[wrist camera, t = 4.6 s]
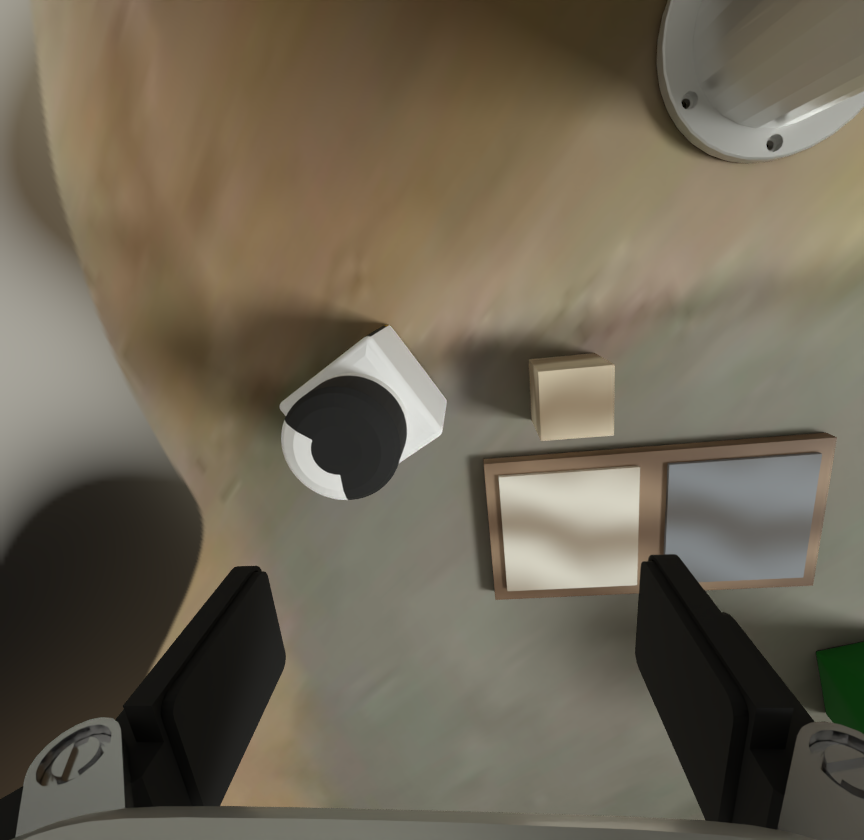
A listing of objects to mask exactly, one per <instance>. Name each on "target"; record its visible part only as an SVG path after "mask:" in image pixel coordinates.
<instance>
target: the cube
mask: <svg viewBox="0 0 864 840" xmlns="http://www.w3.org/2000/svg"><path fill="white" fill-rule="evenodd" d="M614 374H615V365H614V364H612V363H611V362H609V361H607V360H606V359H604V358H602V357H600V356H599V355H597V354H595V353H590V354H579V355H569V356H558V357H548V358H537V359H529V377H530V399H531V420H532V422H533V424H534V427H535V429H536V431H537V433H538V435H539V437H540V440H541V441H548V440H561V439H573V438H586V437H599V436H612V435H614Z"/></svg>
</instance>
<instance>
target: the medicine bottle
mask: <svg viewBox="0 0 864 840" xmlns="http://www.w3.org/2000/svg"><path fill="white" fill-rule="evenodd" d="M446 404H447V400H446V398H445V397H444V396H443V394H442V393H441V392H440V390H439V389H438V388H437V386H436V385H435V384H434V382H433V381H432V380H431V379H430V377H429V376H428V375H427V373H426V372H425V371H424V369H423V368H422V367H421V365H420V364H419V363H418V361H417V360H416V359H415V357H414V356H413V355H412V353H411V352H410V351H409V349H408V348H407V347H406V345H405V344H404V343H403V341H402V340H401V339H400V337H399V336H398V335H397V333H396V332H395V331H394V329H393V328H392V327H391V326H390V325H384V326H382V327H381V328H379V329H377V330H376V331H374V332H372V333H371V334H369V335H367V336H365V337H364V338H363V339H361V340H360V341H359V342H357V343H356V344H355V345H354V346H352V347H351V348H350V349H348V350H347V351H346V352H345V353H343V354H342V355H341V356H340V357H338V358H337V359H336V360H334V361H333V362H332V363H331V364H329V365H328V366H327V367H326V368H324V369H323V370H322V371H320V372H319V373H318V374H317V375H315V376H314V377H313V378H311V379H310V380H309V381H308V382H306V383H305V384H304V385H303V386H301V387H300V388H299V389H297V390H296V391H295V392H294V393H292V394H291V395H290V396H289V397H287V398H286V399H285V400H283V401H282V402H281V404H280V410H281V411H282V412H283V413H284V415H285V416H286V418H285V420H284V423H283V426H282V433H281V444H282V450H283V453H284V457H285V459H286V462H287V464H288V466H289V467H290V469H291V471H292V472H293V473H294V475H295V476H296V477H297V478H298V479H299V480H300V481H301V482H302V483H303V484H304V485H305V486H307V487H308V488H309V489H311V490H313V491H314V492H316V493H318V494H321V495H323V496H326V497H329V498H333V499H339V500H353V499H359V498H363V497H366V496H369V495H371V494H373V493H375V492H377V491H378V490H380V489H381V488H382V487H383V486H385V485H386V484H387V482H388V481H389V480H390V479H391V477H392V476H393V475H394V473H395V471H396V469H397V466H398V464H399V463H400V462H402V461H403V460H404V459H406V458H407V457H409V456H410V455H412V454H413V453H415V452H416V451H418V450H419V449H421V448H422V447H424V446H425V445H427V444H428V443H430V442H431V441H432V440H434V439H435V438H437V437H438V436H440V435H441V434H442V429H443V423H444V417H445V410H446Z"/></svg>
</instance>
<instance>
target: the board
mask: <svg viewBox="0 0 864 840" xmlns="http://www.w3.org/2000/svg"><path fill="white" fill-rule="evenodd" d="M836 440H837V437H835V436H832V435H830V434H828V433H814V434H801V435H788V436H775V437H763V438H750V439H737V440H724V441H711V442H698V443H685V444H672V445H659V446H646V447H633V448H620V449H607V450H595V451H582V452H569V453H556V454H543V455H530V456H517V457H504V458H491V459H483V461H484V473H485V484H486V496H487V507H488V519H489V531H490V542H491V554H492V565H493V577H494V588H495V599H496V600H500V599H522V598H544V597H567V596H589V595H611V594H633V593H639V585H640V569H641V563H642V562H643V561H648V558H649V556H650V555H664V554H675V555H678V556H679V557H680V559H681V560H682V561H683V563H684V564H685V565H686V567H687V568H688V569H689V571H690V572H691V573H692V575H693V576H694V577H695V579H696V580H697V581H698V582H699V584H700V585H701V586H702V588H703V589H704V590H722V589H745V588H767V587H789V586H811V585H813V582H814V576H815V569H816V563H817V557H818V551H819V545H820V539H821V532H822V526H823V520H824V514H825V508H826V502H827V495H828V489H829V483H830V477H831V471H832V465H833V458H834V452H835V446H836Z"/></svg>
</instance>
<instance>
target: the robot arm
mask: <svg viewBox="0 0 864 840" xmlns="http://www.w3.org/2000/svg"><path fill="white" fill-rule="evenodd" d="M657 73H658V80H659V87H660V92H661V95H662V97H663V100H664V103H665V106H666V109H667V112H668V113H669V115H670V117H671V118H672V120H673V122H674V123H675V125H676V127H677V128H678V130H679V131H680V132H681V133H682V134H683V135H684V136H685V137H686V138H687V139H688V140H689V141H690V142H691V143H692V144H693V145H695V146H696V147H698V148H699V149H701V150H702V151H704V152H706V153H707V154H709V155H712V156H714V157H717V158H720V159H723V160H726V161H731V162H739V163H759V162H769V161H773V160H776V159H780V158H783V157H787V156H790V155H793V154H795V153H798V152H800V151H803V150H805V149H808V148H810V147H812V146H814V145H816V144H818V143H819V142H821V141H823V140H824V139H826V138H828V137H830V136H831V135H833V134H834V133H836V132H837V131H838V130H839V129H841V128H842V127H843V126H844V125H845V124H847V123H848V122H849V121H850V120H852V119H853V118H854V117H855V116H856V115H857V114H858V113H859V112H860V111H861V110H862V108H863V107H864V0H668V1H667V4H666V7H665V10H664V12H663V15H662V20H661V25H660V31H659V36H658V41H657ZM682 102H685V103H686V109H685V108H684V107H683V106H682ZM766 144H768V146H769V148H768V149H767V145H766ZM635 654H636V660H637V664H638V667H639V670H640V672H641V674H642V677H643V679H644V681H645V683H646V686H647V688H648V690H649V693H650V695H651V697H652V699H653V702H654V704H655V706H656V708H657V711H658V713H659V715H660V717H661V720H662V722H663V724H664V727H665V729H666V731H667V733H668V736H669V738H670V740H671V742H672V745H673V747H674V749H675V752H676V754H677V756H678V758H679V761H680V763H681V765H682V767H683V770H684V772H685V774H686V777H687V779H688V781H689V783H690V786H691V788H692V790H693V792H694V795H695V797H696V799H697V802H698V804H699V806H700V808H701V811H702V813H703V815H704V817H705V820H706V821H705V820H686V819H666V818H646V817H627V816H600V815H568V814H537V813H505V812H470V811H432V810H392V809H350V808H298V807H244V806H220V804H221V802H222V800H223V798H224V796H225V794H226V792H227V789H228V787H229V785H230V783H231V781H232V779H233V777H234V774H235V772H236V770H237V768H238V766H239V764H240V762H241V759H242V757H243V755H244V753H245V751H246V749H247V747H248V744H249V742H250V740H251V738H252V736H253V734H254V732H255V729H256V727H257V725H258V723H259V721H260V719H261V717H262V714H263V712H264V710H265V708H266V706H267V704H268V702H269V699H270V697H271V695H272V693H273V691H274V689H275V686H276V684H277V682H278V680H279V678H280V676H281V674H282V671H283V669H284V666H285V660H286V655H285V649H284V645H283V641H282V636H281V632H280V627H279V623H278V619H277V614H276V610H275V605H274V601H273V597H272V592H271V588H270V583H269V579H268V575H267V573H266V572H262V571H261V569H260V567H258V566H237V567H234V568H233V569H232V570H231V571H230V573H229V574H228V575H227V576H226V578H225V579H224V580H223V581H222V583H221V584H220V585H219V586H218V588H217V589H216V590H215V591H214V593H213V594H212V595H211V596H210V598H209V599H208V600H207V601H206V603H205V604H204V605H203V606H202V608H201V609H200V610H199V611H198V613H197V614H196V615H195V616H194V618H193V619H192V620H191V621H190V623H189V624H188V625H187V626H186V628H185V629H184V630H183V631H182V633H181V634H180V635H179V636H178V638H177V639H176V640H175V641H174V643H173V644H172V645H171V646H170V648H169V649H168V650H167V651H166V653H165V654H164V655H163V656H162V658H161V659H160V660H159V661H158V663H157V664H156V665H155V666H154V668H153V669H152V670H151V671H150V673H149V674H148V675H147V676H146V678H145V679H144V680H143V681H142V683H141V684H140V685H139V687H138V688H137V689H136V690H135V691H134V693H133V694H132V695H131V696H130V698H129V699H128V700H127V701H126V703H125V704H124V705H123V707H124V710H123V711H122V712H121V713H120V715H119V716H118V717H117V718H116V720H114V719H112V718H103V717H102V718H96V719H91V720H88V721H86V722H84V723H81V724H79V725H76V726H74V727H73V728H71V729H69V730H67V731H66V732H64V733H62V734H61V735H60V736H59V737H57V738H56V739H55V740H53V741H52V742H51V743H50V744H48V745H47V746H46V747H45V748H44V750H42V752H40V754H39V755H38V756H37V757H36V758H35V760H34V761H33V763H32V764H31V766H30V767H29V769H28V771H27V774H26V777H25V780H24V786H23V787H21V788H19V789H17V790H16V791H14V792H12V793H11V794H9V795H7V796H5V797H4V798H2V799H0V840H864V734H863V733H861V732H859V731H857V730H854V729H851V728H849V727H846V726H843V725H841V724H835V723H830V722H814V720H813V719H812V718H811V717H810V715H809V714H808V713H807V711H806V710H805V709H804V708H803V706H802V705H801V704H800V703H799V701H798V700H797V699H796V697H795V696H794V695H793V694H792V692H791V691H790V690H789V688H788V687H787V686H786V685H785V683H784V682H783V681H782V679H781V678H780V677H779V676H778V674H777V673H776V672H775V671H774V669H773V668H772V667H771V665H770V664H769V663H768V662H767V660H766V659H765V658H764V656H763V655H762V654H761V653H760V651H759V650H758V649H757V648H756V646H755V645H754V644H753V642H752V641H751V640H750V639H749V637H748V636H747V635H746V633H745V632H744V631H743V630H742V628H741V627H740V626H739V625H738V623H737V622H736V621H735V620H734V619H733V618H732V617H731V616H730V615H729V614H727V613H725V612H723V613H721V611H720V610H719V609H718V608H717V606H716V605H715V604H714V602H713V601H712V600H711V598H710V597H709V596H708V594H707V593H706V592H705V590H704V589H703V588H702V586H701V585H700V584H699V582H698V581H697V580H696V579H695V577H694V576H693V575H692V573H691V572H690V571H689V569H688V568H687V567H686V565H685V564H684V563H683V561H682V560H681V559H680V557H679V556H678V555H675V554H664V555H650V556H649V558H648V561H643V562H642V563H641V569H640V585H639V600H638V616H637V632H636V647H635Z"/></svg>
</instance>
